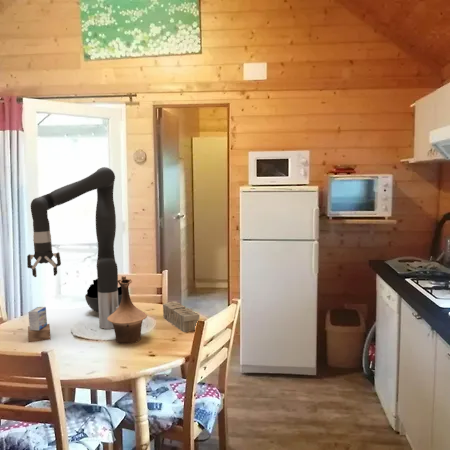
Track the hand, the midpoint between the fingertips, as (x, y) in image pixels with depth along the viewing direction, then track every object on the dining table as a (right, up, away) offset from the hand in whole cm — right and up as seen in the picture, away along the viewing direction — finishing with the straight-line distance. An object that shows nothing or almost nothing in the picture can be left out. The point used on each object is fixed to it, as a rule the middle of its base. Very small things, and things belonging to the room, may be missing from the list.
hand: (45, 276), depth 224 cm
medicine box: (0, -23, -7) cm, 24 cm away
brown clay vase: (+40, -27, -11) cm, 50 cm away
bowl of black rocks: (+20, -23, +33) cm, 45 cm away
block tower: (+61, -25, +11) cm, 67 cm away
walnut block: (0, -27, -6) cm, 28 cm away
